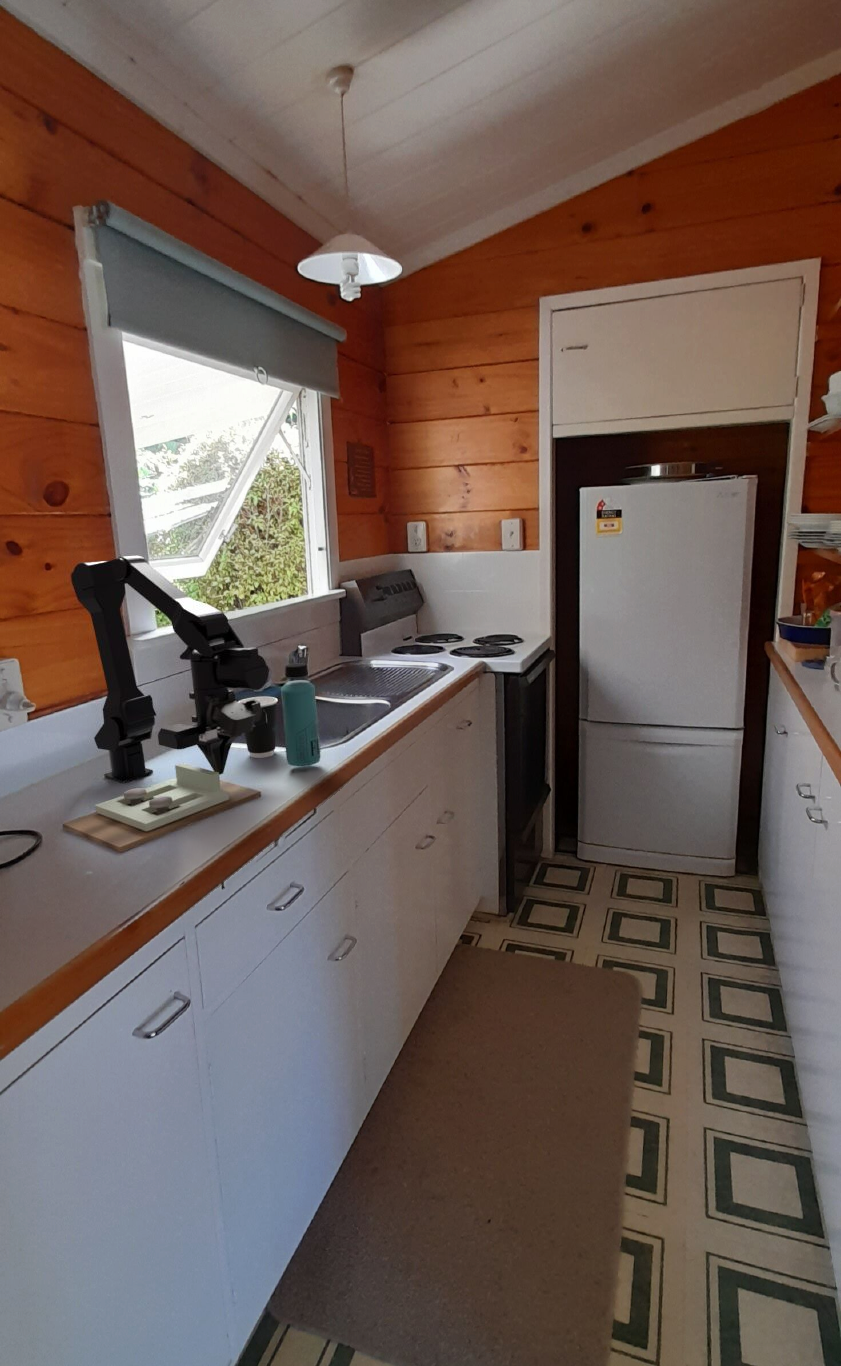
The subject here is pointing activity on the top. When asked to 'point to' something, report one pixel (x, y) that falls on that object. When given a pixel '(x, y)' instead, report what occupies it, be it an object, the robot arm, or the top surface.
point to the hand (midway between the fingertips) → (219, 773)
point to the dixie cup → (263, 730)
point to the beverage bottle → (300, 718)
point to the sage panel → (186, 791)
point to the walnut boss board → (129, 836)
